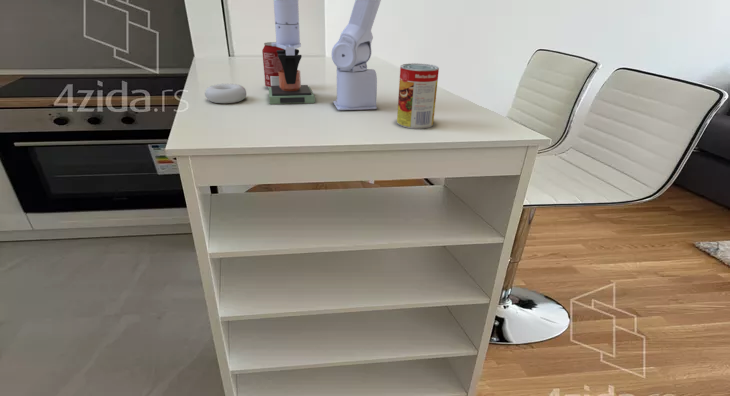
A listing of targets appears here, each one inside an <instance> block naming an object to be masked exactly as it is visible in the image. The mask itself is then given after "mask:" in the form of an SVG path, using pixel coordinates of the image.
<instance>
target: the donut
mask: <svg viewBox="0 0 730 396" xmlns="http://www.w3.org/2000/svg"><path fill="white" fill-rule="evenodd" d="M204 97H205V98H206V100H208V101H209V102H212V103H216V104H233V103H239V102H241V101H243V100H244V99H246V97H247V89H246V88H245V87H244V86H243V85H240V84H237V83H217V84H213V85H210V86H207V87H206V89H205V90H204Z"/></svg>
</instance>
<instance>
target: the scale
mask: <svg viewBox="0 0 730 396" xmlns="http://www.w3.org/2000/svg"><path fill="white" fill-rule="evenodd" d="M268 97H269V98H268V99H269V104H270V105H288V104H289V105H293V104H314V103H316V99H315V98H316V97H315V93H314V92H313V90H312V88H311V86H309V85H308V84H301V88H299V90H296V91H283V90H281V88H279V85H276V86H271V87H269V88H268Z"/></svg>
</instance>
